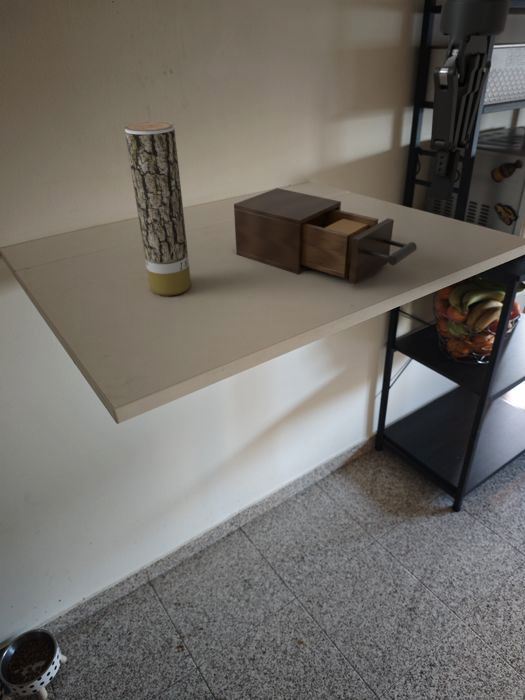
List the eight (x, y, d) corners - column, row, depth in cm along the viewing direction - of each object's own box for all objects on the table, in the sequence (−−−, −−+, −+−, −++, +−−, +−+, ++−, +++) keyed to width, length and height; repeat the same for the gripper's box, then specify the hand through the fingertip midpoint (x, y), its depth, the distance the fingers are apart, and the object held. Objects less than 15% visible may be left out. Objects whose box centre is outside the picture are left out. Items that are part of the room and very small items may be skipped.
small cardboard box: (341, 247, 91) (343, 218, 88) (364, 254, 88) (368, 224, 85) (315, 262, 86) (317, 231, 83) (340, 269, 83) (342, 238, 80)
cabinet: (337, 251, 95) (341, 201, 89) (298, 274, 87) (299, 220, 81) (277, 235, 102) (277, 187, 97) (236, 254, 94) (233, 204, 89)
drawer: (418, 270, 85) (425, 226, 80) (386, 295, 78) (392, 248, 73) (324, 245, 95) (326, 204, 91) (288, 264, 88) (288, 221, 84)
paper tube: (152, 300, 79) (125, 131, 66) (148, 282, 85) (123, 123, 71) (194, 294, 81) (176, 128, 67) (188, 277, 86) (171, 120, 73)
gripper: (466, -3, 64) (434, 182, 77) (422, -5, 56) (394, 203, 69) (528, -6, 60) (482, 191, 73) (490, -7, 52) (447, 214, 65)
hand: (440, 197), depth 71 cm, fingers closed
